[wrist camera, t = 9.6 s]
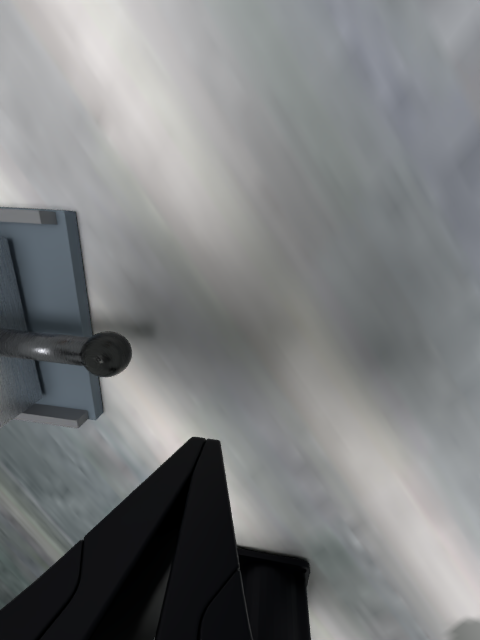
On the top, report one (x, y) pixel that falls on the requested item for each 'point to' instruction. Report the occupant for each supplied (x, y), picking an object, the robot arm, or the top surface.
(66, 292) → the vise base
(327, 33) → the top surface
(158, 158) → the top surface
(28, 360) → the sliding jaw
